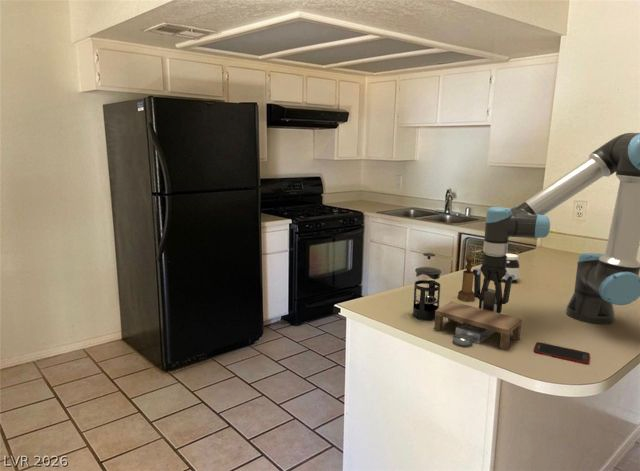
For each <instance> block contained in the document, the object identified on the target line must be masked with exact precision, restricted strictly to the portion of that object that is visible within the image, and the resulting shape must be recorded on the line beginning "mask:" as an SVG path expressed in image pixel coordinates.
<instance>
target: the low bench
mask: <svg viewBox="0 0 640 471" xmlns="http://www.w3.org/2000/svg"><path fill="white" fill-rule="evenodd" d="M444 318H446V319H447V321H449V322H455V321H456V322H460V323H467V324H470V325H474V326H478V327H481V328H485V329H488V330H492V331H495V332H496V333H499V334H500V344H499V349H501V350H504V351H508V350H509V348H510V341H511V340H510V338H511V339H513V340H517V341H519V340H520V339H521V333H522V324H523V323H522V322H523V319H522V318H519V317H516V316H512V315H509V314H504V313H496V312H492V311H488V310H484V309H480V308H479V307H476V306H472V305H468V304H464V303H460V302H457V301H453V300H452V301H449V302H447V303H446V304H444V305H442V306H441V307H439V309H437V310H435V320H434V324H433V327H434V328H433V329H434V330H437V331H441V330H443V326H444V325H443V324H444Z"/></svg>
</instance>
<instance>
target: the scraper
mask: <svg viewBox="0 0 640 471" xmlns="http://www.w3.org/2000/svg"><path fill="white" fill-rule="evenodd" d="M495 303H497V302H496V291H495V289H493V288H488V289H487V290H485V292H484V303H483V309H484V310H488V311H492V312H494V304H495ZM495 332H496V331H492V330H488V329H485V328H481V327H478V326H474V325H470V324H467V323H463V322H461V324H458V326H456V327H455V334H466V335H469V336H471V337H472V338H473V343H477V344H481V343H482V342H484V340H486V339H487V338H488V337H489V336H491V335H493V334H494V333H495ZM455 334H454V335H455Z"/></svg>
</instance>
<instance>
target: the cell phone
mask: <svg viewBox="0 0 640 471" xmlns="http://www.w3.org/2000/svg"><path fill="white" fill-rule="evenodd" d="M533 353H534V354H538V355H541V356H545V357H552V358H556V359H560V360H563V361H568V362H572V363H578V364H581V365H586V366H588V365H590V359H591V354H590V352H586V351H582V350H578V349H572V348H569V347H565V346H559V345H556V344H555V345H554V344H549V343H544V342H540V341H537V342H535V344H534V347H533Z"/></svg>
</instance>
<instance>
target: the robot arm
mask: <svg viewBox="0 0 640 471" xmlns="http://www.w3.org/2000/svg"><path fill="white" fill-rule="evenodd" d="M613 174H615V177H617V179H618V180H619V183H618V184H619V185H618V188H617V190H618V191H617V195H616V199H615V203H614V208H613V209H614V210H613V214H612V218H611V222H610V224H611V225H610V229H609V234H608V237H607V238H608V239H607V243H606V247H605V248H606V249H605V253H596V252H594V253H593V252H583V253H581V254H579V256H578V258H577V259H578V260H577V263H576V264H577V266H576V274H575V282H574V283H575V284H574V291H573V294H572V296H571V298H570V299H569V301H568V303H567V305H566V310H565V312H566V314H567V315H568V316H569V317H571V318H573V319H575V320H579V321H582V322H587V323H591V324H593V323H594V324H610V323H613V322H614V321H615V315H616V314H615V309H614V305H615V306H627V305H630V304H631V303H633V302H635V301H637V300H638V299H639V298H640V276H639V274H640V262H639V261H638V260H637V258H638V254H639V248H640V132H626V133H623V134H620V135H618V136H615V137H613V138H611V139H610V140H609V141H607V142H606V143H604V144H603V145H601V146H599V147H598V148H597V149H596V150H594V151H593V152H591V153H590V154H588V159H586V160H585V161H583V162H581V163H580V164H579V165H577V166H576V167H574V168H573V169H572V170H570V171H568V172H567V173H566V174H564V175H563V176H560V177H559V178H558V179H556V180H555V181H554V182H552V183H550V184H549V185H547V186H546V187H545V188H543V189H542V190H540V191H539V192H537V193H536V194H534V195H532V196H531V197H530V198H528V199H527V200H526V201H524V202H522V203H520V204H519V205H518V206H513V207H510V208H509V207H503V206H491V207H489V208H488V209H487V211H486V216H485V228H484V239H483V248H482V249H483V251H482V252H483V254H482V262H481V263H482V264H481V266H480V267H479V268H477V267H476V268H475V269H473V270H472V272H473V274H474V276H473V287H474V289H473V292H474V297H475V299H478V300H479V301H478V302H479V303H478V308H480V309H483V303H484V292H485V290H487V289H489V287H490V286H489V285H490V282H493V285H494V290H495V291H496V302H497V303H495V304H494V312H496V313H500V314H502V311H503V305H506V304H508V303H509V302H510V301H509V299H510V295H511V294H510V293H511V289H512V283H513V282H512V281H513V279H514V276H513V275H510V274H508V273H507V271H506V261H507V256H506V255H505V254H507V253H508V247H509V239H510V238H529V239H542V238H543V239H544V238H547V237H548V235H549V233H550V231H551V230H550V228H551V222H550V218H549V217H548V215H547V214H548V213H549V212H552V210H554V209H555V208H557V207H559V206H560V205H562V204H564V203H565V202H566V201H568V200H569V199H571V198H572V197H574V196H575V195H577V194H579V193H580V192H582V191H584V190H585V189H586V188H588V187H589V186H591V185H592V184H593V183H595V182H597V181H599V180H600V179H601V178H603V177H608V178H609V177H610V176H612V175H613ZM481 275H483V281H482V282H483V284H482V285H481V283H482V282H481V280H482V278H481V277H482V276H481ZM504 276H505V280H506V282H505V283H504V288H503V287H502V282H503V281H502V280H501V279H502V278H503V277H504Z"/></svg>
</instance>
